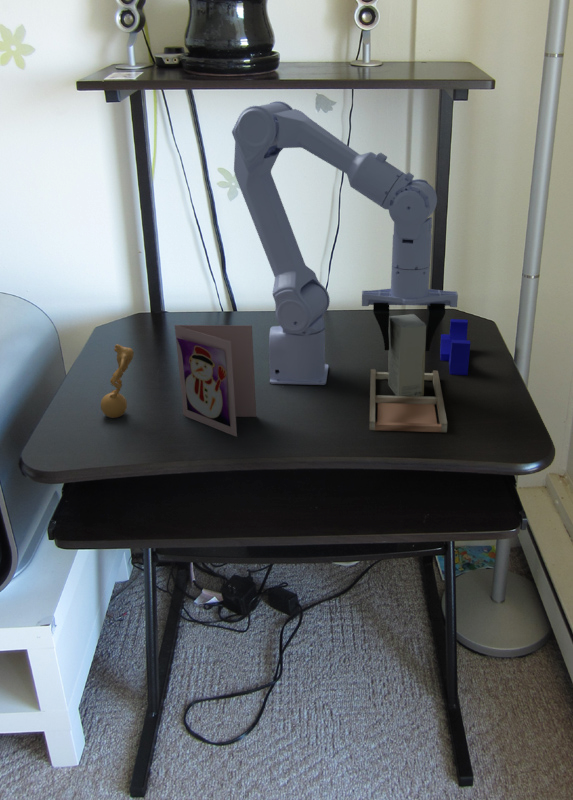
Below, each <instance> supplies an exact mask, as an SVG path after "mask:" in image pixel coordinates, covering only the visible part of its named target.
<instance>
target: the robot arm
mask: <svg viewBox="0 0 573 800" xmlns="http://www.w3.org/2000/svg"><path fill="white" fill-rule="evenodd" d="M233 126H234V127H233V128H232V130H231V135H232V136H233V139H234V158H233V159H234V160H233V161H234V162H233V163H234V164H233V172H234V177H235V179H236V181H237V184H238V187H239V189H240V192H241V194H242V197H243V200H244V202H245V203H246V204H245V205H246V207H247V210H248V212H249V215H250V217H251V220H252V222H253V225H254V227H255V231H256V233H257V235H258V238H259V240H260V243H261V245H262V248H263V251H264V253H265V255H266V258H267V260H268V264H269V266H270V269H271V271H272V274H273V277H274V284H273V287H272V297H273V300H274V302H275V303H274V304H275V311H274V313H275V315H274V316H275V319H276V321H277V323H278V325H273V326H271V327H270V329H269V337H268V342H269V343H268V354H269V355H268V357H269V360H268V361H269V363H268V366H269V384H272V385H273V384H274V385H275V384H276V385H306V386H308V385H310V386H313V385H315V386H316V385H317V386H325V385H326V384H327V379H328V372H329V364H327V363H326V349H325V348H326V332H325V331H326V324H325V320H324V314H325V313H326V312H327V310H328V309H329V307H330V303H331V301H330V295H329V294H330V293H328V290H327V289H326V287H324V285H322V284H321V282H320V281H319V280H318V277H317V274H316V272H315V271H314V270H313V269H311V268H310V267H308V266H307V264H306V263H305V260H304V257H303V255H302V252H301V250H300V247H299V244H298V241H297V239H296V237H295V236H296V235H295V234H294V231H293V229H292V226H291V222H290V220H289V217H288V215H287V212H286V209H285V207H284V204H283V202H282V199H281V196H280V194H279V191H278V188H277V186H276V183H275V180H274V177H273V174H272V170H273V168H274V165H275V164H276V161H277V158H278V156H279V154H280V153H281V152H282V151H283V149H294V148H295V149H297V148H298V149H299V148H300V149H303V150H304V151H306V152H309V153H310V154H312V155H314V156H315V157H317V158H319V159H321V160H322V161H324V162H326V163H327V164H329V165H331V166H332V167H334V168H336V169H338V170H339V171H341V172H343V173H344V174H346V177H347V178H348V182H349V186H350V188H351V189H353V190H355V191H356V192H358V193H360V194H361V195H362V196H364V197H366V198H367V199H369V200H370V201H371V202H373V203H374V204H376V205H378V206H379V207H381V208H383V209H384V210H387V211H388V213H389V216H390V218H391V221H392V222H393V233H392V250H391V251H392V253H391V275H390V276H391V278H390V279H391V280H390V288H384V289H374V290H373V289H372V290H362V291H361V306H362V307H369V306H372V308H373V311H372V312H373V315H374V318H375V320H376V321H377V324H378V325H379V330H380V331H381V335H382V340H383V344H384V345H383V346H384V351H389V316H390V306H426V323H425V324H426V345H425V352H430V351H431V350H430V349H431V344H432V341H433V338H434V335H435V333H436V331H437V329H438V327H439V325H440V324H441V322H442V320H444V317H445V314H446V307H448V306H449V307H450V308H458V297H459V295H458V292H457V291H455V290H454V291H452V290H451V291H450V290H442V289H441V290H440V289H432V288H431V289H429V287H430V285H429V284H430V270H431V269H430V268H431V255H432V253H431V252H432V239H433V238H432V226H433V225H432V222H433V221H432V220H433V218H432V216H431V215H432V214H433V213H434V211H435V210H436V207H437V203H438V197H437V192H436V190H435V189H434V187H433V186H432V185H431V184H430V183H429V182H428V180H425V179H422V178H417V179H414V177H415V175H414V174H413V173H411V172H409V171H408V172H406V173H404V172H403V171H402V170H401V169H399V168H397V167H395V166H394V165H392V164H391V163H389V162H388V161H387V159H388V156H387V155H385V154H384V153H382V152H379V153H377V154H375V152H372V151H369V152H365V153H363V154H360V153H358V151H355V150H354V149H353V148H352V147H350V146H349V145H347V144H346V143H344V142H343V141H342V140H340V139H339V138H338V137H336V136H334V135H333V134H332V133H330V132H329V131H328V130H327V129H325V127H323V126H321V125H320V124H318V123H317V122H315V121H314V120H313V119H312V118H310V117H309V116H308V115H307V114H305V113H304V112H303V111H301V110H299V109H296V108H294V109H293V107H292V106H291V105H289V104H288V103H286V102H284V101H281V100H280V101H279V100H277V101H273V102H270V103H267V104H261V105H252V106H248V107H246V108H245V109H243V110H242V112H241V113H240V114H239V116H238V118H237V120H236V122H235V124H234V125H233Z"/></svg>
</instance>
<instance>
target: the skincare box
mask: <svg viewBox="0 0 573 800" xmlns="http://www.w3.org/2000/svg"><path fill="white" fill-rule="evenodd" d="M426 324H427V323H425V322H424V321H423V320H421V319H420V318H419V317H418V316H417V315H416V314H415V313H409V314H399V315H389V350H388V360H387V361H388V369H387V370H388V371H387V372H388V379H387V380H388V381H387V386H388V387H389V388H390V389H391V391H392V392H393V394H394V396H424V395H425V380H424V373H426V372H425V370H426V368H425V365H426V362H425V361H426V351H425V345H426Z"/></svg>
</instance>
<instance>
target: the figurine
mask: <svg viewBox="0 0 573 800" xmlns="http://www.w3.org/2000/svg"><path fill="white" fill-rule="evenodd" d="M113 350H114V352H115V353H116V362H117V365H118V366H117V367H118V368H117V369H116V370H115V372H113V374H112V377H111V378H110V380H109V382H110V384H111V385H110V386H112V387H114V388H115V389H114V390H111V392H109V393H107V394H105V395H104V396H103V397H102V398H101V400H100V409H101V411H102V413H103V414H104V415H105V416H106V417H108V418H111V419H116V418H117V419H118V418H119V417H122V416H123V415H124V414H125V413H126V411H127V410H128V409H127V408H128V402H127V399H126V398H125V396H124V395H123V394H121V393H120V391H121V388H122V386H123V381H122V380H121V379H122V377H123V375H124V373H125V372H126V371H127V370H128V368H129V365H130V363H132V360H133V358H134V356H135V355H134V354H135V352H134V350H133V348H131V347H125V346H123V345H121V344H118V343H117V344H115V345H114V349H113Z"/></svg>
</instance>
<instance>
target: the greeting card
mask: <svg viewBox="0 0 573 800" xmlns="http://www.w3.org/2000/svg"><path fill="white" fill-rule="evenodd" d="M174 330H175V331H174V332H175V340H176V342H175V343H176V351H177V352H176V353H177V363H178V372H179V381H180V391H181V392H180V394H181V402H182V403H181V404H182V413H183V416H184V417H187V418H189V419H191V420H193V421H197V422H199V423H201V424H204V425H207V426H208V427H211V428H214V429H216V430H219V431H221V432H224V433H226V434H228V435H231V436H233V437H236V438H238V433H237V431H238V430H237V417H239V418H240V417H241V418H242V417H248V418H251V417H252V418H256V417H257V403H256V401H257V400H256V399H257V398H256V382H255V359H254V345H253V342H254V341H253V340H254V339H253V326H252V325H250V324H249V325H243V324H242V325H238V324H237V325H235V324H234V325H230V324H229V325H224V324H223V325H221V324H220V325H219V324H215V325H211V324H209V325H208V324H205V325H204V324H192V325H191V324H188V325H187V324H174Z"/></svg>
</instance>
